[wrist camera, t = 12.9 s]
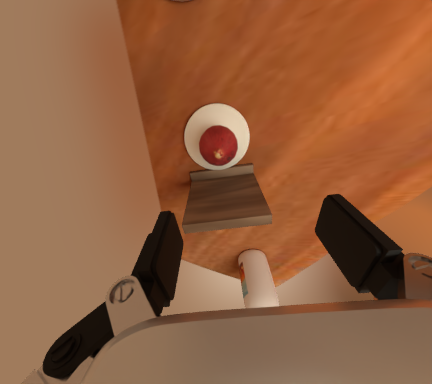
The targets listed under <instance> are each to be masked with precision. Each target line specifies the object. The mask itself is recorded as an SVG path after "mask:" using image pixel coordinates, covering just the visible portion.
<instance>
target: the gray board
mask: <svg viewBox="0 0 432 384" xmlns="http://www.w3.org/2000/svg"><path fill="white" fill-rule="evenodd" d="M190 176H191V180H192V183H191V187H190V192H189V196H188V200H187V205H186V209H185V214H184V218H183V222H182V227H183V230H184V233H185V234H186V233H195V232H204V231H213V230H222V229H230V228H239V227H248V226H257V225H266V224H272V213H271V211H270V209H269V207H268V204H267V202H266V200H265V198H264V196H263V193H262V191H261V189H260V187H259V184H258V182H257V180H256V178H255V176H254V173H253V164H252V163H250V164H243V165H235V166H231V167H229V168H226V169H222V170H211V169H207V170H199V171H192V172H190Z"/></svg>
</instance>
